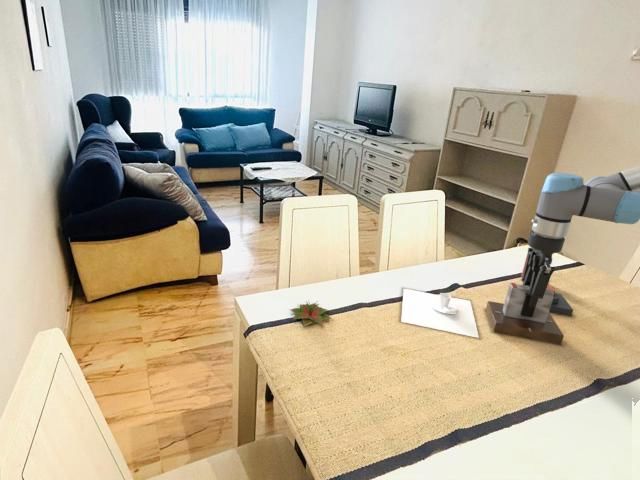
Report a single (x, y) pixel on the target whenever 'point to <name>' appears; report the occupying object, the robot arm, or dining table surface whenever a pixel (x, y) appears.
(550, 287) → the button
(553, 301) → the button block
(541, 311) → the grey marble block
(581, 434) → the dining table surface
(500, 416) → the dining table surface
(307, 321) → the christmas pine decoration
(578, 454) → the dining table surface
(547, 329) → the dark brown rectangular block
